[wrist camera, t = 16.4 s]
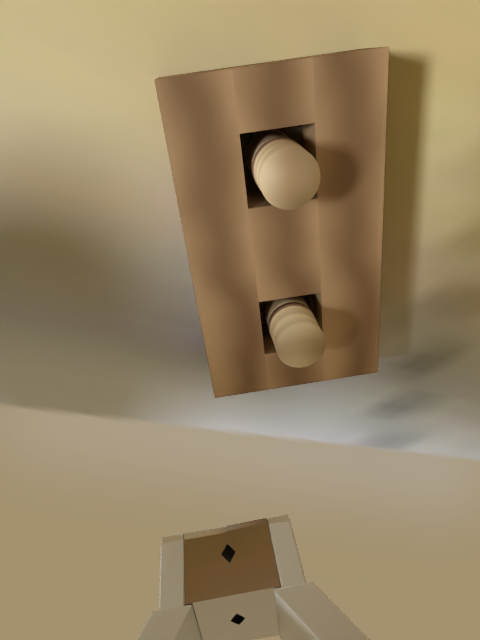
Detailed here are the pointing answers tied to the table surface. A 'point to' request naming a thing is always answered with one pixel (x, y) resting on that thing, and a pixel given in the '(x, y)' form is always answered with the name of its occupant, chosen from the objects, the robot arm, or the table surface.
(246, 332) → the board
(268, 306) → the leg
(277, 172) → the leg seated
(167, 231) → the table surface
